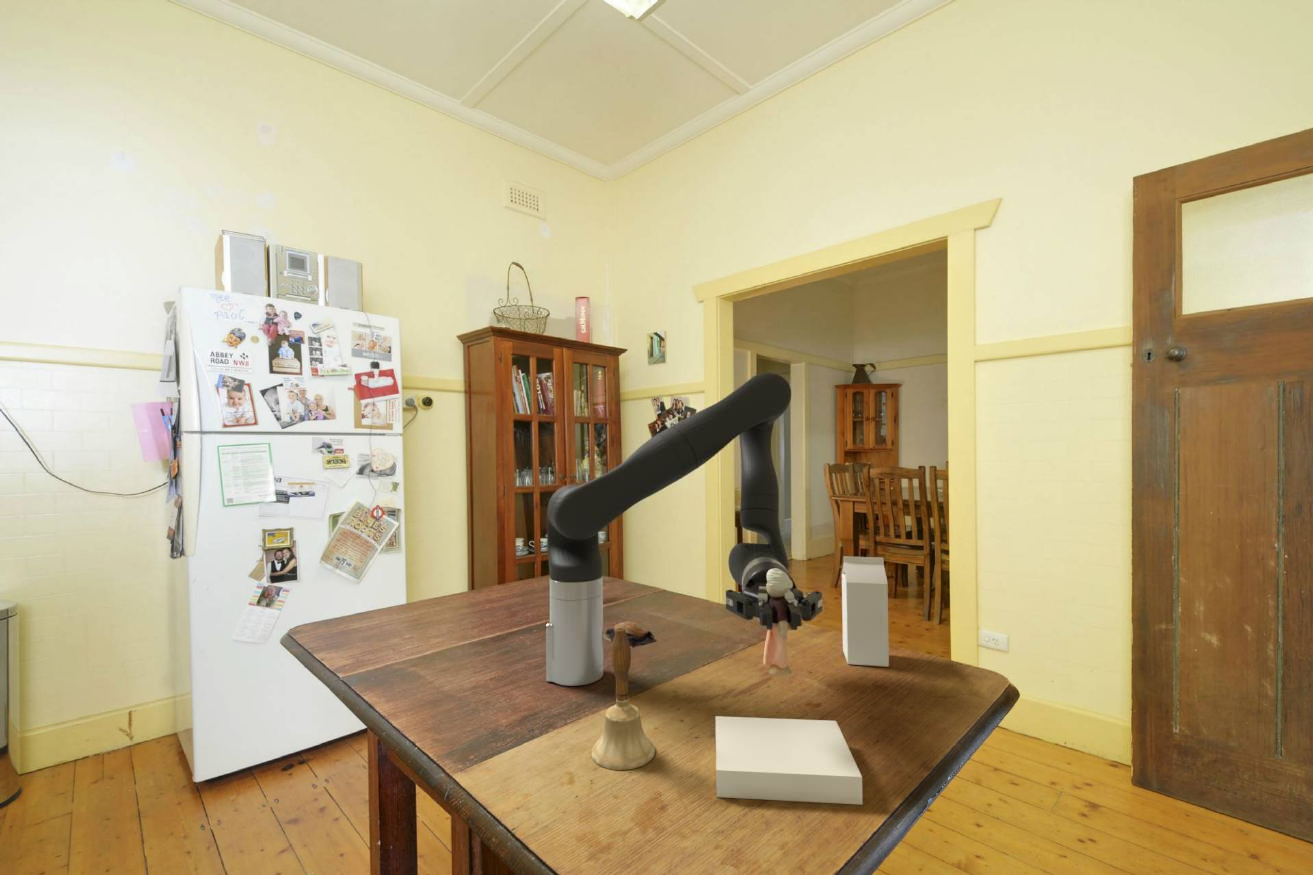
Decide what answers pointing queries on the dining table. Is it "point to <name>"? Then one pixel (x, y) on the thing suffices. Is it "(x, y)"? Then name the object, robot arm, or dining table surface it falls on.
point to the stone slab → (785, 761)
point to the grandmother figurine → (777, 623)
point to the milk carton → (865, 611)
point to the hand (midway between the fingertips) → (782, 621)
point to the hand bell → (622, 719)
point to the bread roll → (631, 634)
